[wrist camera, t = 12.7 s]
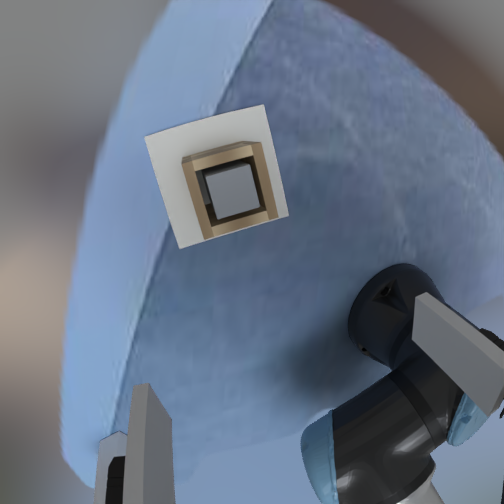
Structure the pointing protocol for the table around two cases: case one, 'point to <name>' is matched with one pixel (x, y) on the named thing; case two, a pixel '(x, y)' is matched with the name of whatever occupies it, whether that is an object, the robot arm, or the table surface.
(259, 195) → the collar
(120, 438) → the milk
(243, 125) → the post board
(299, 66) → the table surface
